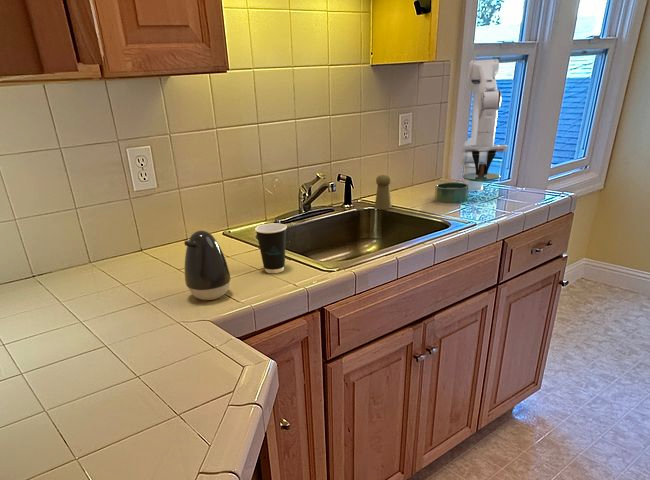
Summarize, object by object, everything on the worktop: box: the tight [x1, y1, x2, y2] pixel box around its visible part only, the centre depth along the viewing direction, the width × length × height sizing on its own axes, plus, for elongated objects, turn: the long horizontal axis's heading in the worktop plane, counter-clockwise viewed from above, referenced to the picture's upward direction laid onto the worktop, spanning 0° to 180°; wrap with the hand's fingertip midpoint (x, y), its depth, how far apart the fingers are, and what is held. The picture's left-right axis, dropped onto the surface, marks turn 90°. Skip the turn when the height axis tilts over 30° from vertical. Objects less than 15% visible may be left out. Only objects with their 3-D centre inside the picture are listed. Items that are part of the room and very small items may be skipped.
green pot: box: [434, 182, 469, 205], centre depth 180 cm, size 11×11×6 cm
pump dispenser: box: [183, 229, 232, 301], centre depth 112 cm, size 10×10×15 cm
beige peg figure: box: [374, 174, 393, 210], centre depth 177 cm, size 6×6×11 cm
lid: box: [462, 163, 501, 183], centre depth 174 cm, size 12×12×5 cm
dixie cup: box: [254, 222, 288, 274], centre depth 126 cm, size 8×8×11 cm
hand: (481, 174), depth 174 cm, fingers closed on lid, 2 cm apart
